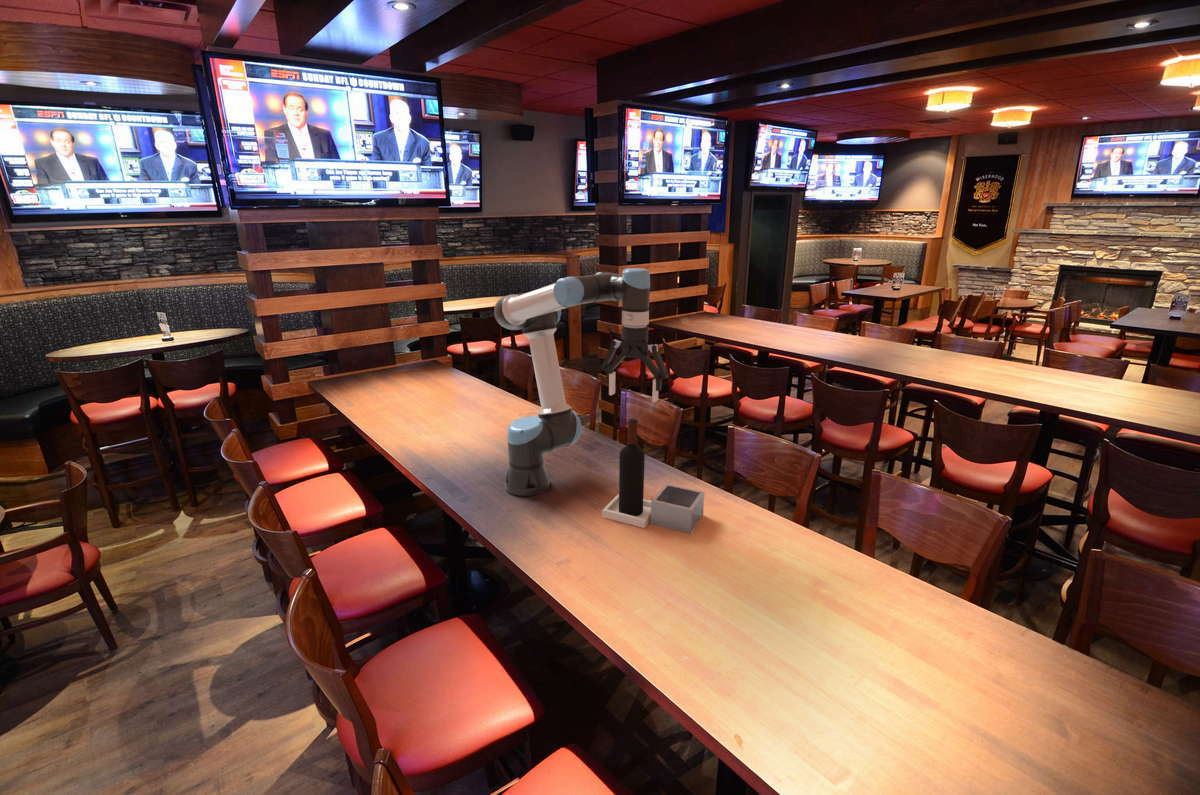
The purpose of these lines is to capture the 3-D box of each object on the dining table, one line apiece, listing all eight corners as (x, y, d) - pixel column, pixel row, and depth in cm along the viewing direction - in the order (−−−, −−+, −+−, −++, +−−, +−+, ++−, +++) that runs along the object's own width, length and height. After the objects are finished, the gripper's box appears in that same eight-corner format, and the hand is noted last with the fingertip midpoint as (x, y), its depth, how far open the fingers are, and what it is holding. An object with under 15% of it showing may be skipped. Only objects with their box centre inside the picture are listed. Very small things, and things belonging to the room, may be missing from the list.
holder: (650, 524, 173) (651, 500, 171) (664, 506, 184) (665, 483, 181) (690, 534, 168) (691, 510, 165) (702, 515, 179) (704, 492, 176)
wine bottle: (623, 518, 174) (624, 426, 165) (615, 506, 181) (616, 417, 172) (646, 515, 176) (649, 423, 167) (638, 503, 183) (640, 414, 174)
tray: (602, 517, 177) (602, 509, 176) (618, 500, 187) (618, 493, 186) (644, 528, 171) (644, 520, 170) (659, 510, 181) (659, 503, 181)
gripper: (589, 323, 163) (589, 394, 169) (672, 332, 152) (669, 408, 159) (601, 319, 169) (600, 387, 176) (682, 327, 159) (678, 400, 165)
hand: (633, 397), depth 167 cm, fingers open, 13 cm apart
